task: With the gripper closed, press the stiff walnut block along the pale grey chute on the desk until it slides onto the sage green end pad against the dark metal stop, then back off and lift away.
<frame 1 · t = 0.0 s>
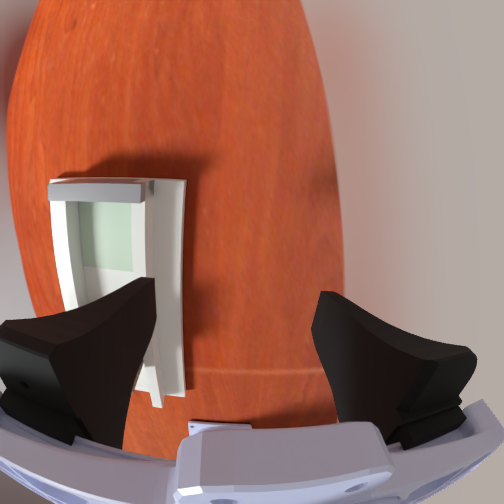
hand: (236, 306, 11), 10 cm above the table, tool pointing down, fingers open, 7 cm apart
chute: (119, 301, 22), on the table
jammed block: (109, 348, 19), point 4 cm above the table, slide at 0.0 cm
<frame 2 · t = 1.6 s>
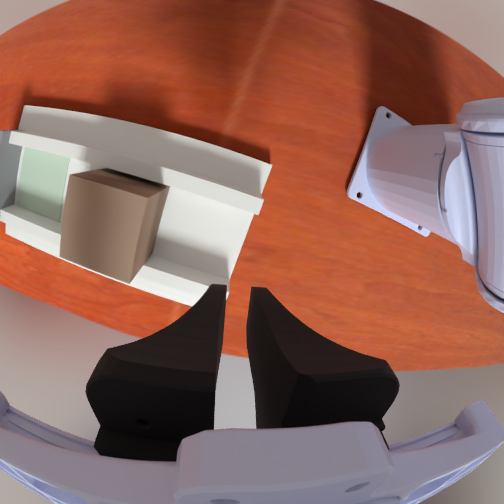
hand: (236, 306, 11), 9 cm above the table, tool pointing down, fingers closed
chute: (107, 198, 18), on the table
jammed block: (114, 218, 15), point 4 cm above the table, slide at 0.0 cm
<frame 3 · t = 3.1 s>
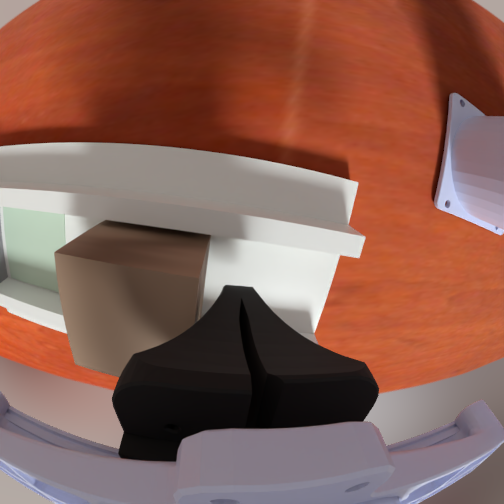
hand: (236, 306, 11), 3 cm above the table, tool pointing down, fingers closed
chute: (128, 256, 14), on the table
jammed block: (141, 296, 10), point 4 cm above the table, slide at 0.5 cm, touching gripper
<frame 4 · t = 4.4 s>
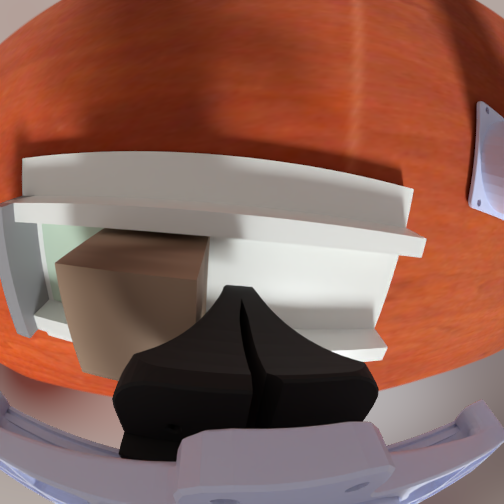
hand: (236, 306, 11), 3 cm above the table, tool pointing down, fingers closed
chute: (197, 268, 14), on the table
jammed block: (144, 301, 11), point 4 cm above the table, slide at 4.4 cm, touching gripper
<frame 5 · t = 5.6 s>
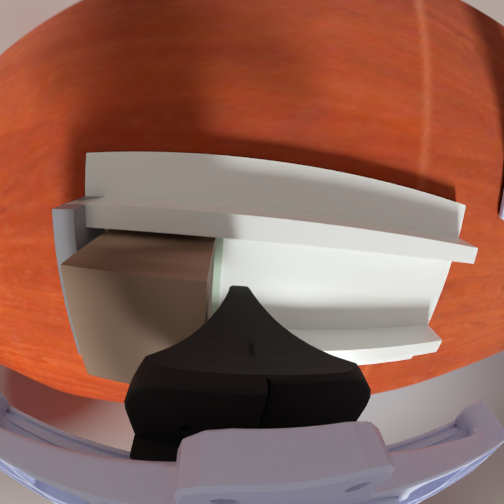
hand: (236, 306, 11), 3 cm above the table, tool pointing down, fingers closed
chute: (289, 276, 15), on the table
jammed block: (150, 302, 11), point 4 cm above the table, slide at 9.1 cm, touching gripper
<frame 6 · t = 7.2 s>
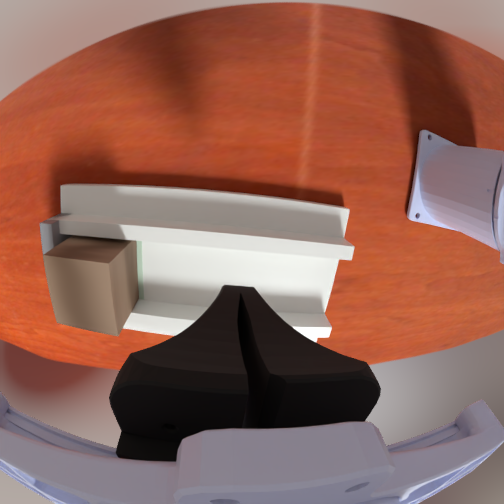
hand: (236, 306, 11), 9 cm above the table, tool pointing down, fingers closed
chute: (192, 267, 21), on the table
jammed block: (94, 279, 16), point 4 cm above the table, slide at 9.0 cm
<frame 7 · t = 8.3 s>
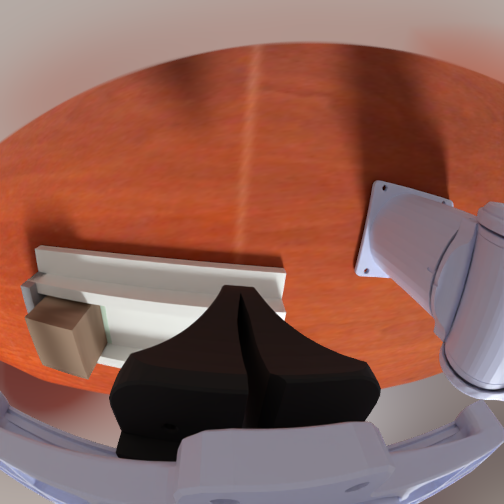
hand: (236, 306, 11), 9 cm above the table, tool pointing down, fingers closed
chute: (148, 319, 22), on the table
jammed block: (68, 332, 18), point 4 cm above the table, slide at 9.0 cm
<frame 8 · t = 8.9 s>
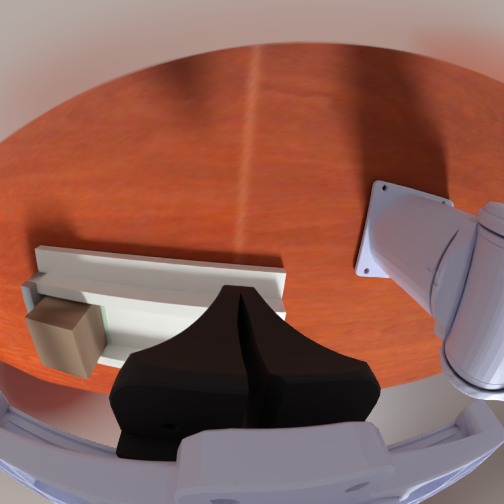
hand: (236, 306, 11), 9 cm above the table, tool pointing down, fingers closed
chute: (148, 319, 22), on the table
jammed block: (68, 332, 18), point 4 cm above the table, slide at 9.0 cm
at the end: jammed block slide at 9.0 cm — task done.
